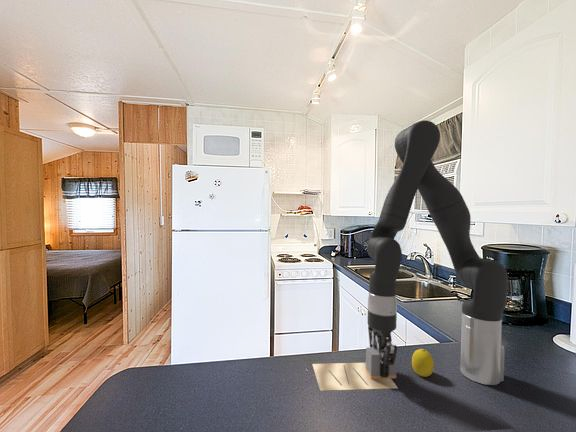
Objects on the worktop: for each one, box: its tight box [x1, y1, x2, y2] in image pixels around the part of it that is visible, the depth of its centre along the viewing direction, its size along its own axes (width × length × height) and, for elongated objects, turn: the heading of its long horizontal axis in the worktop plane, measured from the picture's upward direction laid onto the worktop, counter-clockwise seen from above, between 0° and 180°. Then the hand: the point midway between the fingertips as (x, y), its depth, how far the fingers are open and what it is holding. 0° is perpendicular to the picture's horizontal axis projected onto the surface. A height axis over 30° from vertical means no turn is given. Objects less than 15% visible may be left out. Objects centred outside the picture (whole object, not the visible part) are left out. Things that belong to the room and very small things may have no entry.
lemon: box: [411, 348, 435, 378], centre depth 76 cm, size 6×6×8 cm
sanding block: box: [365, 346, 398, 380], centre depth 75 cm, size 7×4×6 cm, turn 95°
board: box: [312, 362, 399, 392], centre depth 75 cm, size 20×12×1 cm, turn 95°
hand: (380, 371), depth 75 cm, fingers closed on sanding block, 4 cm apart
